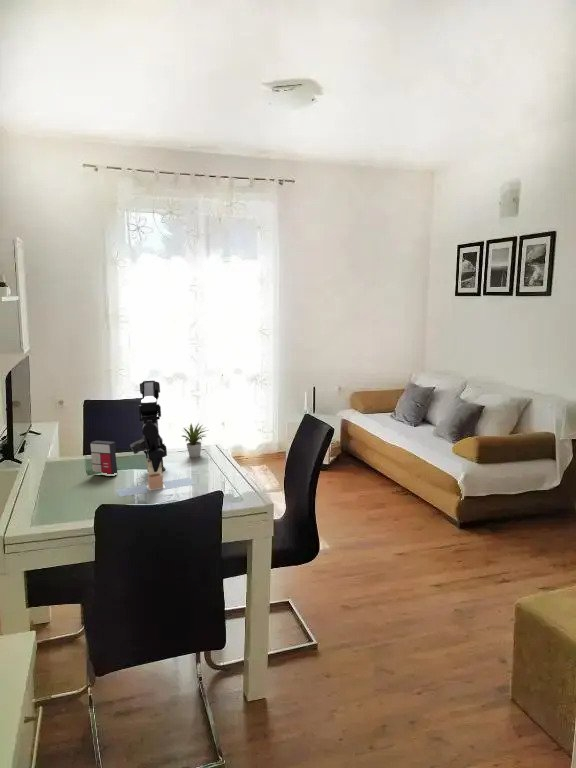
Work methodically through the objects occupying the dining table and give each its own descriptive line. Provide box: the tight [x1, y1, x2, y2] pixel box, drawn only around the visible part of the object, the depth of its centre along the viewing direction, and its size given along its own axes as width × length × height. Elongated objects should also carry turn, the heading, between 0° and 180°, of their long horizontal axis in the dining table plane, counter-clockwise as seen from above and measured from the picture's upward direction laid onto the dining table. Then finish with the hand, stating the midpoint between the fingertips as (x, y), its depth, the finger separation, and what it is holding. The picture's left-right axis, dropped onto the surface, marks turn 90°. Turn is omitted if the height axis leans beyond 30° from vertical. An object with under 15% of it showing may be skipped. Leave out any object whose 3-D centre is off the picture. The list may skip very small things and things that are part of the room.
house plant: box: [181, 423, 210, 458], centre depth 279 cm, size 14×14×16 cm
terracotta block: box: [147, 473, 164, 489], centre depth 236 cm, size 5×5×5 cm
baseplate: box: [116, 477, 196, 498], centre depth 236 cm, size 10×30×1 cm, turn 112°
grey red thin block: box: [89, 440, 118, 474], centre depth 256 cm, size 11×4×15 cm, turn 68°
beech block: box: [145, 458, 163, 475], centre depth 235 cm, size 5×5×5 cm
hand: (154, 470), depth 235 cm, fingers closed on beech block, 5 cm apart
